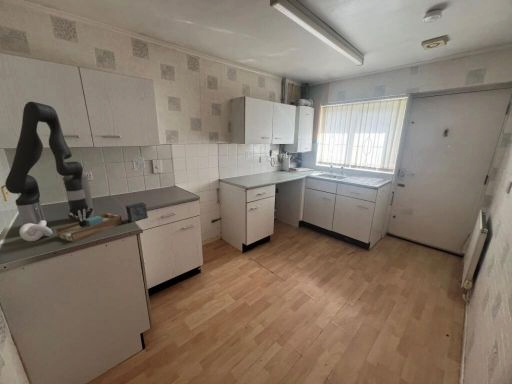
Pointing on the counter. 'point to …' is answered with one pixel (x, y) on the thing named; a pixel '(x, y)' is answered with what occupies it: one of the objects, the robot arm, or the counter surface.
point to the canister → (86, 191)
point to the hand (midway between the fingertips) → (83, 226)
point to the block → (93, 221)
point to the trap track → (88, 228)
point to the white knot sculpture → (34, 231)
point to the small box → (136, 212)
